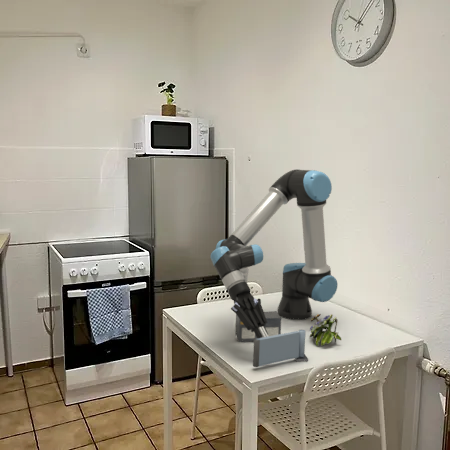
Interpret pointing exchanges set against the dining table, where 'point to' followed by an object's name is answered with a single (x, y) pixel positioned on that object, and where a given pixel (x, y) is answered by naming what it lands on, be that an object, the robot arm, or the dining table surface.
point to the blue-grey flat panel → (278, 348)
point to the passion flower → (328, 334)
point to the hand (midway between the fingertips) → (268, 345)
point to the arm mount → (301, 358)
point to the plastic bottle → (244, 273)
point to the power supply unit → (271, 326)
